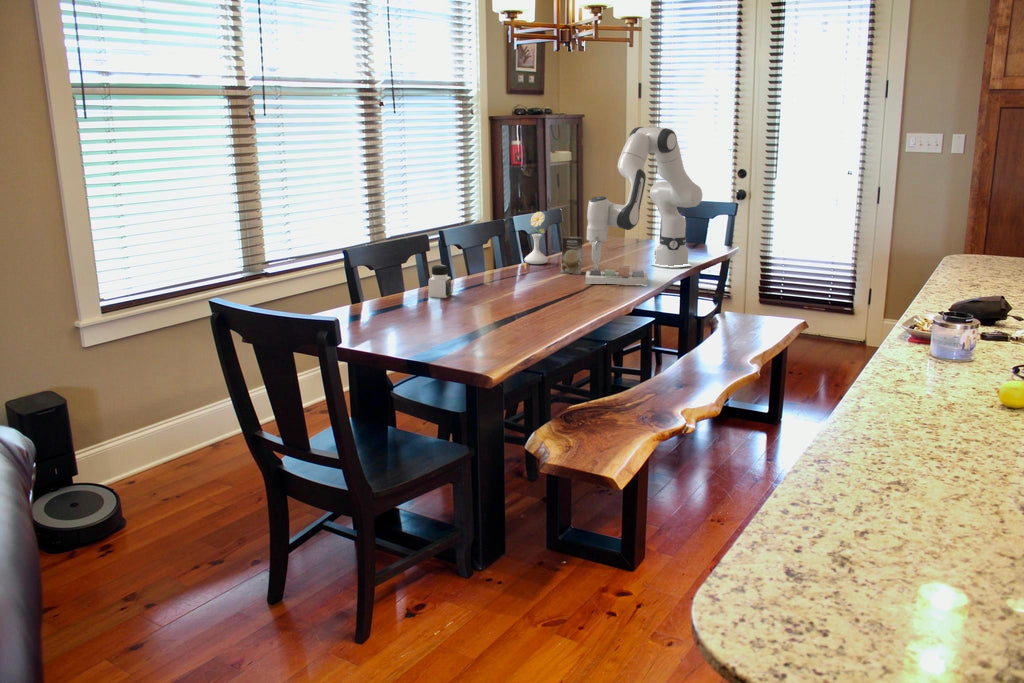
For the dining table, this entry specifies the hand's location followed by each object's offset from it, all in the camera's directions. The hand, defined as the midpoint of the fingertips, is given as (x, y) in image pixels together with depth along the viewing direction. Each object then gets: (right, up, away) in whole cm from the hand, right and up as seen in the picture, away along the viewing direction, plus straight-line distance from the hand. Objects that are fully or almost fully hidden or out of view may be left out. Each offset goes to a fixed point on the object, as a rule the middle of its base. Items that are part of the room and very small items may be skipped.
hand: (596, 268), depth 367 cm
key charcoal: (0, -5, +1) cm, 5 cm away
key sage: (+6, -5, +1) cm, 8 cm away
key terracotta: (+12, -4, 0) cm, 12 cm away
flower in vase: (-24, +5, +40) cm, 47 cm away
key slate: (+18, -6, -1) cm, 19 cm away
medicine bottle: (-64, -14, -30) cm, 72 cm away
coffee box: (-9, -1, +20) cm, 22 cm away
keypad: (+9, -6, 0) cm, 11 cm away
